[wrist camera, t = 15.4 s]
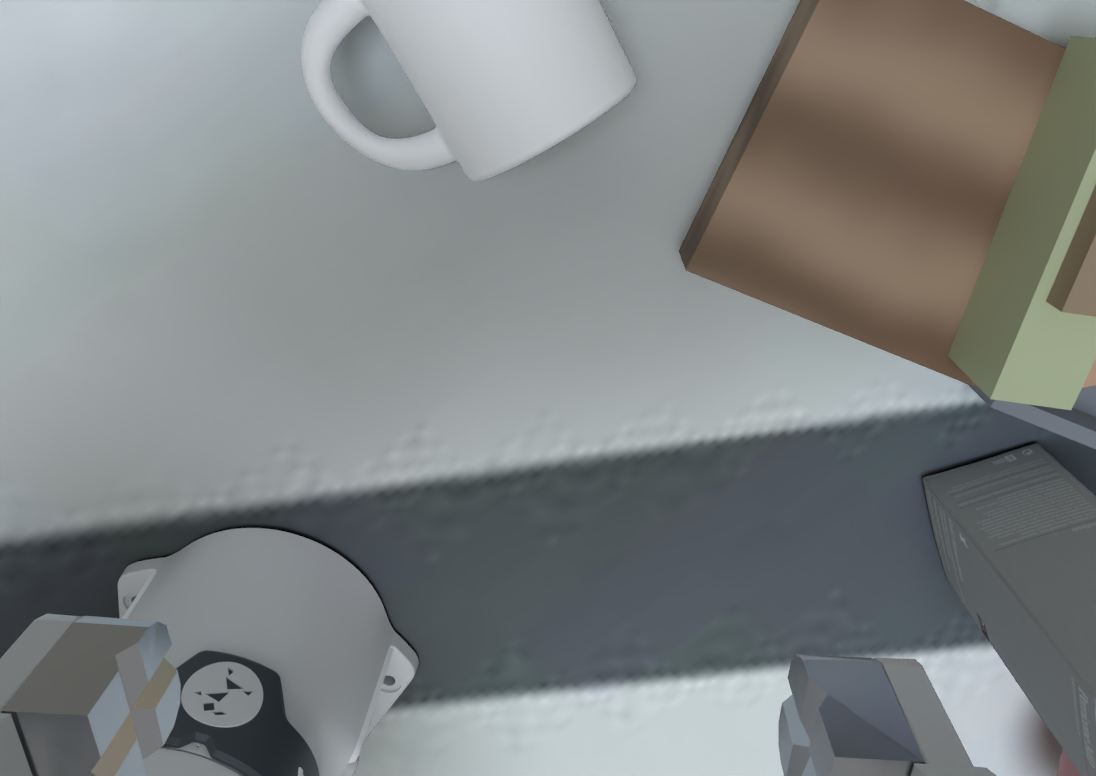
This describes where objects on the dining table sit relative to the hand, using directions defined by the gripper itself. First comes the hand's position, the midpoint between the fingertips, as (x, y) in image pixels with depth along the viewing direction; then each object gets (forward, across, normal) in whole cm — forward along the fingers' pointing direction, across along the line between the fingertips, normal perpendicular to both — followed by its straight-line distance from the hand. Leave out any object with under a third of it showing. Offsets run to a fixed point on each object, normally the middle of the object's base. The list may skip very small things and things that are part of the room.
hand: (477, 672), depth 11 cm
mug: (+31, +4, -6) cm, 32 cm away
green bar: (+28, -21, 0) cm, 35 cm away
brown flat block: (+31, -16, -1) cm, 35 cm away
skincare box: (+31, -25, +18) cm, 44 cm away
